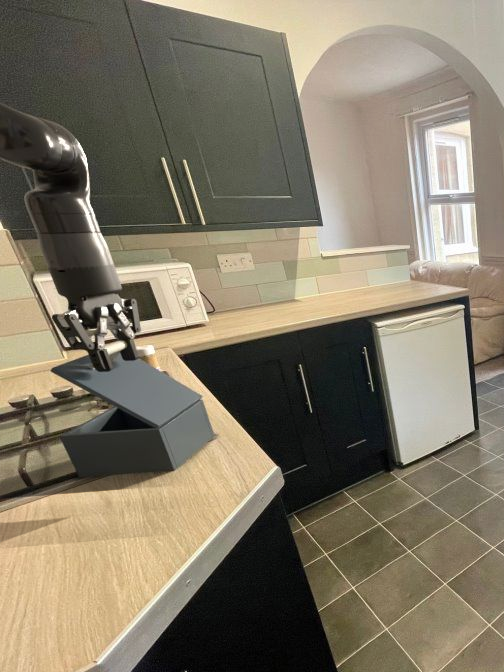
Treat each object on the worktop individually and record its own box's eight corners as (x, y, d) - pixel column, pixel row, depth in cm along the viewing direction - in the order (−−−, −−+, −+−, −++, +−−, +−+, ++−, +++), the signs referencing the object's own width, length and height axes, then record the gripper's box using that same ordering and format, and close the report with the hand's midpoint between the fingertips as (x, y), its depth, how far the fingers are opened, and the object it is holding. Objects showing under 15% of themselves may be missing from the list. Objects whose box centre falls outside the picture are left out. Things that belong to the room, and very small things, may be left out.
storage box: (83, 485, 73) (58, 436, 69) (136, 448, 84) (117, 404, 81) (177, 478, 74) (158, 429, 70) (217, 443, 86) (202, 399, 82)
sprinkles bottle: (167, 397, 109) (149, 348, 104) (145, 401, 107) (126, 351, 102) (172, 391, 113) (154, 343, 108) (151, 394, 111) (132, 346, 106)
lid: (49, 371, 65) (63, 346, 64) (113, 347, 77) (126, 326, 76) (156, 429, 70) (171, 407, 69) (201, 398, 82) (214, 379, 81)
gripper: (93, 259, 72) (126, 353, 78) (8, 268, 59) (57, 381, 65) (140, 258, 73) (169, 352, 79) (66, 268, 59) (109, 379, 66)
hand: (118, 365), depth 72 cm, fingers closed on lid, 5 cm apart
